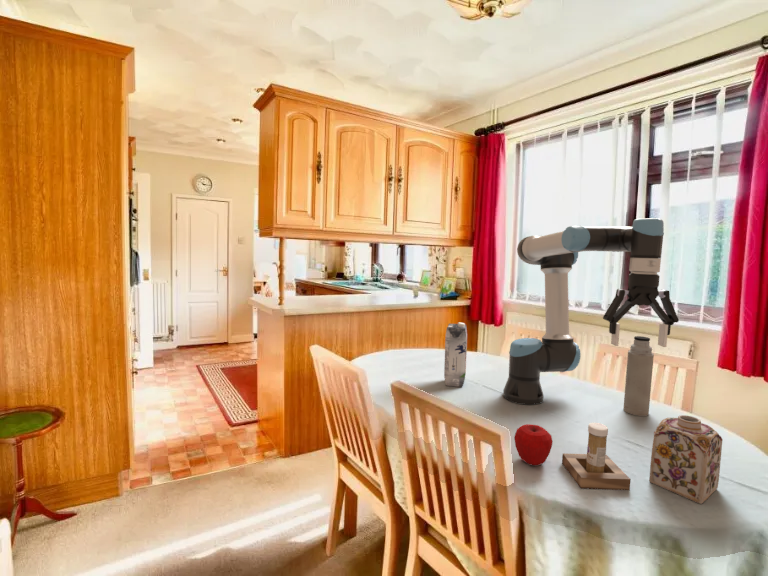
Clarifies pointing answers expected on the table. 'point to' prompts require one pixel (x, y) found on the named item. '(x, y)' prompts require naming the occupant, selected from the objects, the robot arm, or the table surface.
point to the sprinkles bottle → (596, 448)
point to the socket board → (595, 474)
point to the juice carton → (455, 354)
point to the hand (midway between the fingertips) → (638, 345)
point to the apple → (533, 444)
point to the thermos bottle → (638, 377)
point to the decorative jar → (686, 457)
